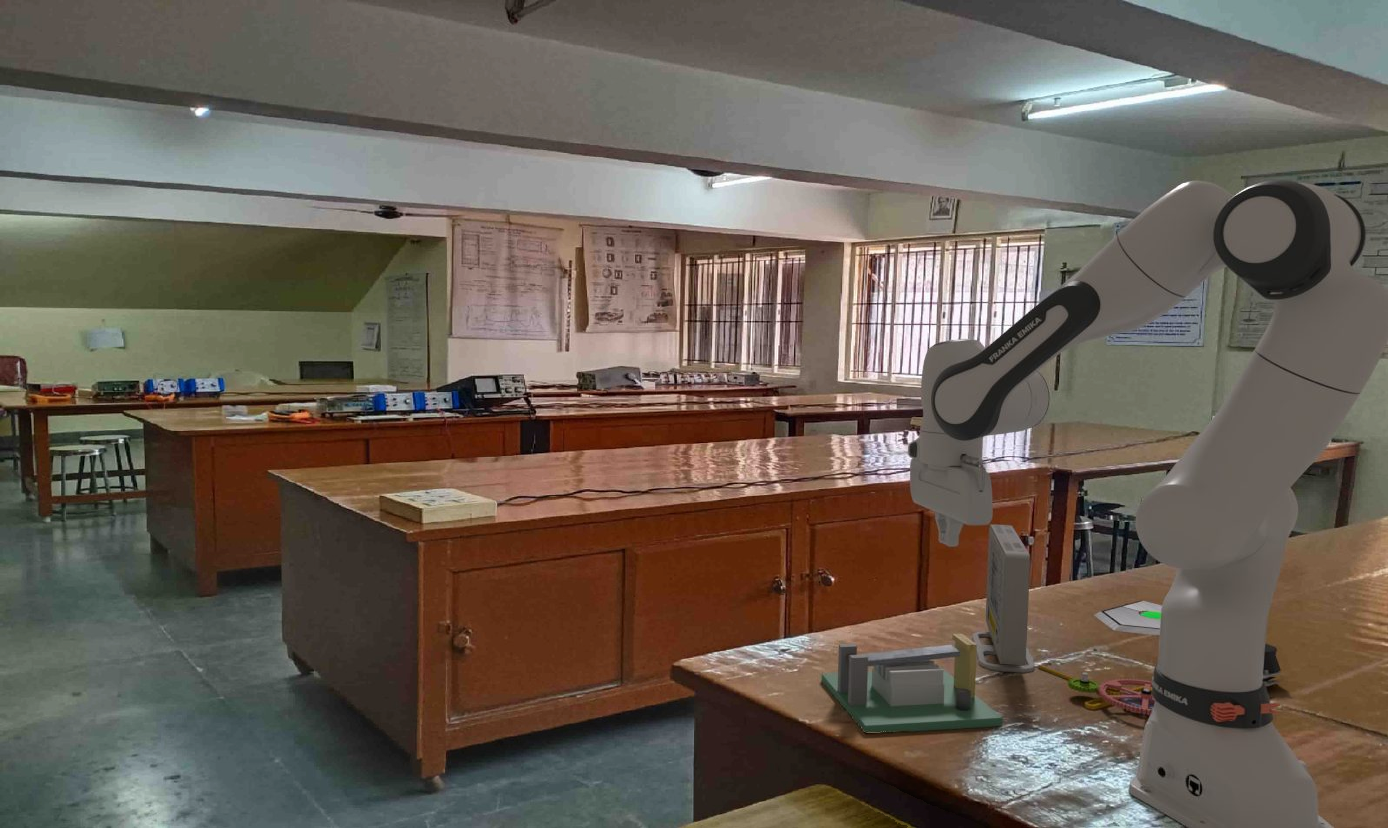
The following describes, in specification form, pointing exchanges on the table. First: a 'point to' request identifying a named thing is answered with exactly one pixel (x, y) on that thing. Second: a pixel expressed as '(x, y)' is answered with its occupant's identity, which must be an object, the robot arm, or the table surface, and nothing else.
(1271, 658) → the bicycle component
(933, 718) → the board
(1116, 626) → the security device
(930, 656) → the strap
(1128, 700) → the mechanical gear assembly
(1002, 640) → the network device
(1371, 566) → the table surface
